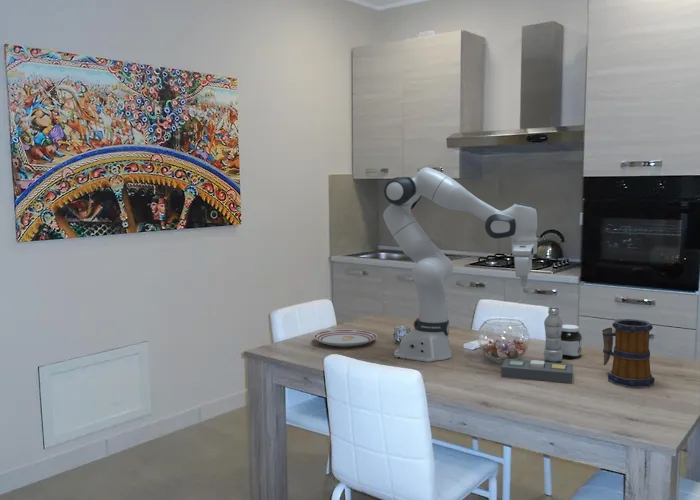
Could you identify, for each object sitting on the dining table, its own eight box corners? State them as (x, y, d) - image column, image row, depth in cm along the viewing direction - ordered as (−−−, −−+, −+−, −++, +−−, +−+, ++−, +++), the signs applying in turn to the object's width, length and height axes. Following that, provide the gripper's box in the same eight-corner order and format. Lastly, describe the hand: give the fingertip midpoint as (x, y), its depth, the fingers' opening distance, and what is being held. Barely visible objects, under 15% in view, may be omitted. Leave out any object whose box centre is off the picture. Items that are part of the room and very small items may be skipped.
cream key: (530, 369, 216) (530, 363, 215) (531, 365, 220) (531, 359, 219) (543, 370, 214) (543, 364, 214) (544, 366, 218) (544, 361, 218)
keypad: (501, 376, 216) (501, 366, 216) (505, 368, 226) (505, 358, 226) (571, 383, 208) (572, 373, 207) (573, 374, 218) (573, 364, 218)
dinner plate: (338, 332, 287) (338, 325, 287) (389, 340, 271) (389, 332, 271) (300, 345, 265) (299, 337, 265) (352, 354, 249) (352, 346, 249)
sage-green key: (509, 369, 218) (509, 364, 218) (510, 366, 222) (510, 360, 222) (522, 370, 217) (522, 365, 216) (523, 367, 221) (523, 361, 220)
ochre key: (551, 373, 213) (551, 367, 213) (552, 369, 217) (552, 364, 217) (565, 374, 212) (565, 368, 211) (565, 370, 216) (565, 365, 215)
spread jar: (571, 360, 234) (571, 330, 233) (544, 355, 243) (544, 325, 242) (587, 354, 242) (588, 325, 241) (560, 349, 251) (561, 320, 249)
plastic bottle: (563, 364, 230) (564, 310, 228) (544, 363, 231) (545, 310, 229) (561, 359, 236) (562, 307, 234) (542, 358, 237) (543, 306, 235)
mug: (587, 374, 217) (588, 317, 215) (618, 369, 223) (619, 313, 221) (632, 391, 199) (633, 329, 197) (664, 384, 205) (667, 324, 203)
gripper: (518, 245, 236) (518, 281, 238) (511, 251, 217) (511, 290, 219) (536, 245, 234) (535, 282, 235) (530, 251, 215) (530, 291, 216)
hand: (523, 286), depth 227 cm, fingers closed
